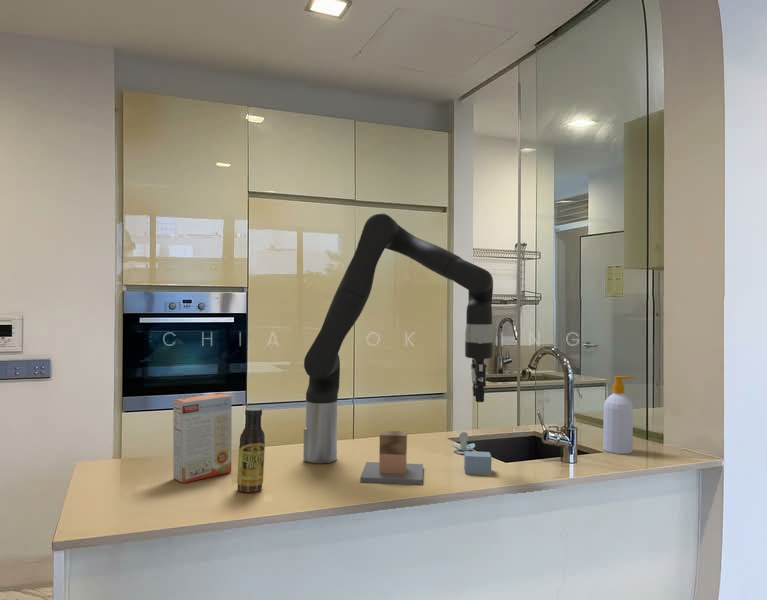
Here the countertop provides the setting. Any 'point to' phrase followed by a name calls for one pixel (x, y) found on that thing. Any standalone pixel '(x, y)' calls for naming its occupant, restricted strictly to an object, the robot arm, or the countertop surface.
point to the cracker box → (202, 437)
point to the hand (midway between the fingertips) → (478, 399)
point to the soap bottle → (618, 420)
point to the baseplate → (391, 477)
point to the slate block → (477, 462)
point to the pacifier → (464, 444)
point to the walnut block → (393, 442)
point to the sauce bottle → (251, 453)
